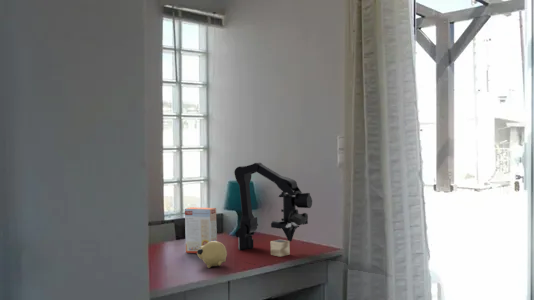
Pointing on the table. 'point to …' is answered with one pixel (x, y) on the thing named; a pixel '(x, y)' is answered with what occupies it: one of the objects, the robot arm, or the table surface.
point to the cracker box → (199, 227)
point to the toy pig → (212, 253)
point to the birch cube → (280, 248)
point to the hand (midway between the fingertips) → (290, 241)
